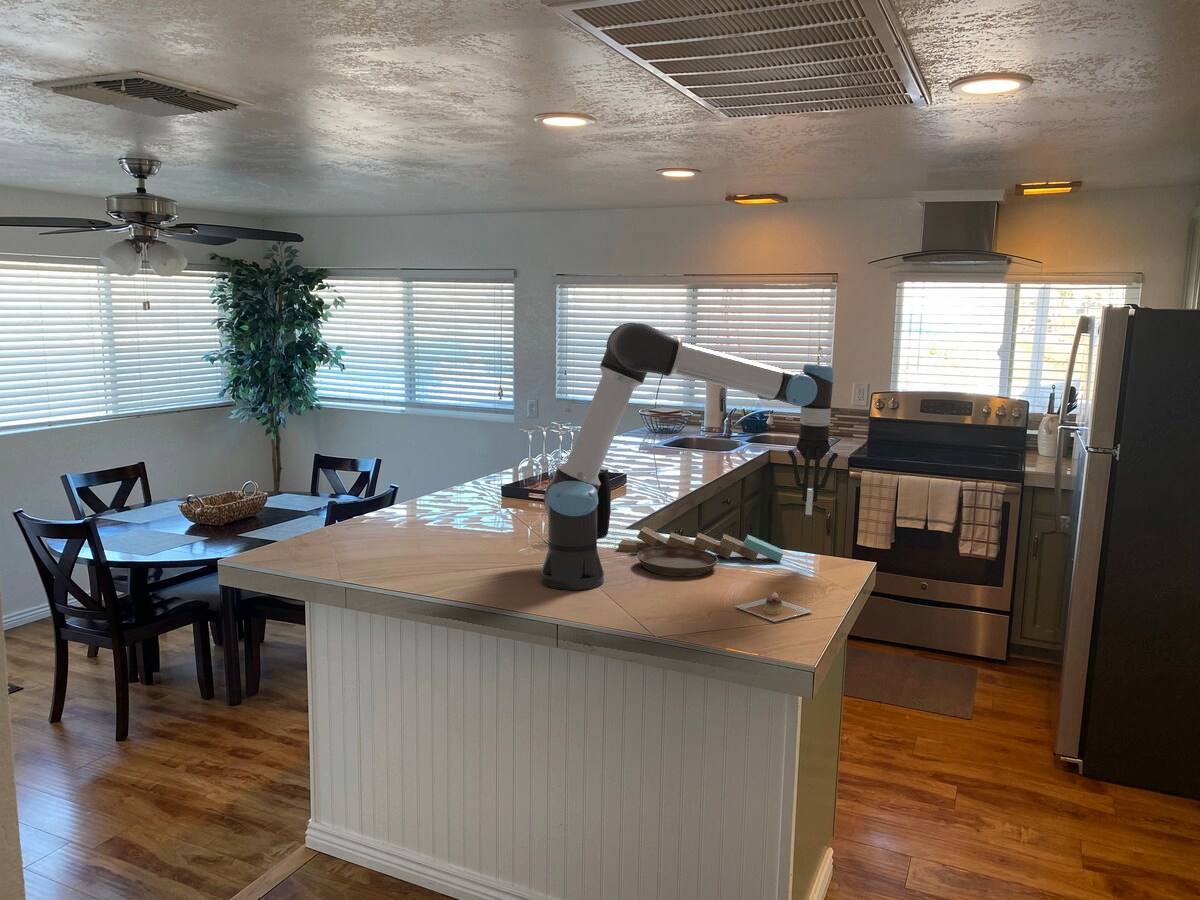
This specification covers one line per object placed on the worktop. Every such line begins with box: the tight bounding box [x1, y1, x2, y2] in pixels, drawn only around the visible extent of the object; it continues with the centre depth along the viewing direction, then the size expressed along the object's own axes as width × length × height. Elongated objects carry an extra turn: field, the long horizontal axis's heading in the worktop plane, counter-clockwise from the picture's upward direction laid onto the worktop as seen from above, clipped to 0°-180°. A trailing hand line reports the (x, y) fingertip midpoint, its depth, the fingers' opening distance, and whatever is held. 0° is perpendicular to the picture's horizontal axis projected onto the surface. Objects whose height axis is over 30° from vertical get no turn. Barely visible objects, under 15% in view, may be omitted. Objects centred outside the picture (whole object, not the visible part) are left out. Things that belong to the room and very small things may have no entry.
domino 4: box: [694, 532, 733, 560], centre depth 238 cm, size 5×2×10 cm
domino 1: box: [617, 539, 655, 553], centre depth 244 cm, size 5×2×10 cm
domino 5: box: [719, 533, 759, 562], centre depth 236 cm, size 5×2×10 cm
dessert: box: [734, 591, 814, 623], centre depth 192 cm, size 12×12×5 cm
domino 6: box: [743, 534, 784, 563], centre depth 235 cm, size 5×2×10 cm
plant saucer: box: [636, 547, 719, 577], centre depth 226 cm, size 21×21×3 cm
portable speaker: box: [597, 468, 612, 538], centre depth 259 cm, size 9×9×20 cm
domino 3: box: [667, 532, 706, 551], centre depth 239 cm, size 5×2×10 cm
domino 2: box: [636, 526, 672, 547], centre depth 242 cm, size 5×2×10 cm
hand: (808, 513), depth 232 cm, fingers closed
